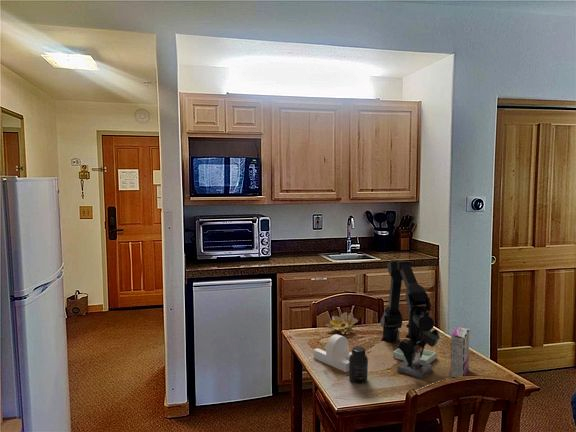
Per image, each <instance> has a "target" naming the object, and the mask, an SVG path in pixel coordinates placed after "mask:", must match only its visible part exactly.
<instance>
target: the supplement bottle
mask: <svg viewBox="0 0 576 432" xmlns="http://www.w3.org/2000/svg"><path fill="white" fill-rule="evenodd" d="M351 348H352V349H351V353H352V354H351V355H350V357H349V371H348V379H349V381H350V382H351V383H354V384H356V385H357V384H359V385H360V384H361V385H363V384H365V383H366V382H367V381H368V377H369V376H368V375H369V374H368V372H369V368H368V366H369V365H368V364H369V363H368V362H369V360H368V358H369V357H367V355H366V348H365V347H363V346H358V345H356V346H353V347H351Z"/></svg>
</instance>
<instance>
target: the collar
mask: <svg viewBox="0 0 576 432" xmlns="http://www.w3.org/2000/svg"><path fill="white" fill-rule="evenodd" d="M396 368H397V369H396V371H397V372H399V373H401V374H405V375H408V376H411V377H415V378H416V379H421V380H423V379H424V378H426V377H427V376H428V375H429V374H430V373H431V372H432V371H433V364H431V363H430V364H427V363H423V362H420V369H419V370H418V369H414V368H411V367H410V365H408V362H407V360H405V361H403V362H401V363H400V364H398V365H397V367H396Z"/></svg>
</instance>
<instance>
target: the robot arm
mask: <svg viewBox="0 0 576 432" xmlns="http://www.w3.org/2000/svg"><path fill="white" fill-rule="evenodd" d="M387 272H388V275H389V276H390V277H391V278H390V288H389V297H388V306H387V307H385V309H383V314H382V317H381V318H380V322H379V323H380V326H381V327H382V337H381V339H380V340H381V341H385V342H389V343H392V344H394V343H396V342H397V341H399V340H400V339H401V338H400V330H399V329H402V326H403V325H402V324H403V320H404V318H403V315H402V313H401V311H400V310H399V309H400V300H401V299H400V298H401V293H402V292H401V291H402V282H403V283H404V286H405V289H406V292H405V302H406V304H407V307H408V323H407V324H406V328H408V329H407V333H408V334H406V335H405V338H403V339H402V340H401V341H399V342H398V343H397V345H398V346H397V347H398V348H399V349H400V350H402V352H403V354H404V356H405V358H406V360H407V362H408V365H410V366H411V365H412V362H413V356H414V353H415V352H416V351H417V348H418V345H419V346H421V347H422V351H421V352H420V358H421V357H422V354H423V351H424V349H425V347H426V345H428V346H429V347H431V348H434V347H435V346H436V345H437V344H438V342H439V340H440V339H441V337H440V334H439V333H440V332H439V330H437V329H436V328H435V329H433V328H434V326H435V320H434V319H433V318H432V317H431V316H430V313H429V311H430V312H431V310H432V308H431V307H432V305H431V300H430V298H429V295H428V293H427V292H426V289H424V287H423V286H422V285H420V284H419V282H418V281H417V277H416V276H415V273H414V270H413V269H412V263H411V261H409V260H405V259H404V260H402V259H401V260H399V259H397V260H396V259H395V260H394V259H392V260H390V261H388V262H387ZM432 329H433V330H432ZM398 348H397V349H398Z"/></svg>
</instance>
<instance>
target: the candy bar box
mask: <svg viewBox="0 0 576 432" xmlns="http://www.w3.org/2000/svg"><path fill="white" fill-rule="evenodd" d="M450 337H451V340H450V341H451V343H450V350H451V351H450V353H451V354H450V358H451V359H450V378H453V377H460V376H465V377H466V375H467V373H468V371H469V367H470V366H469V365H470V364H469V363H470V362H469V359H470V356H469V355H470V328H466V327H459V326H456V327H455V329H454V331H453V333H452V334H451V336H450ZM453 379H454V378H453Z"/></svg>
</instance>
